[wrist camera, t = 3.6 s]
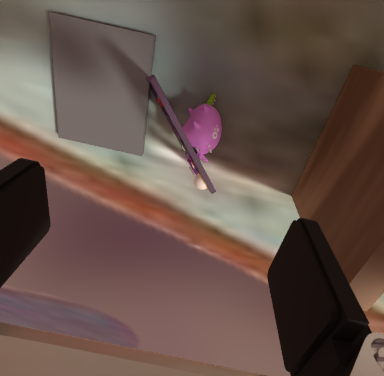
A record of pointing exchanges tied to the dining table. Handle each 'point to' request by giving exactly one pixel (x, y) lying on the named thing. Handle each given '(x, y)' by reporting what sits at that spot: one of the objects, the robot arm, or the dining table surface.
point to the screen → (351, 183)
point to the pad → (101, 82)
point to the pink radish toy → (194, 132)
